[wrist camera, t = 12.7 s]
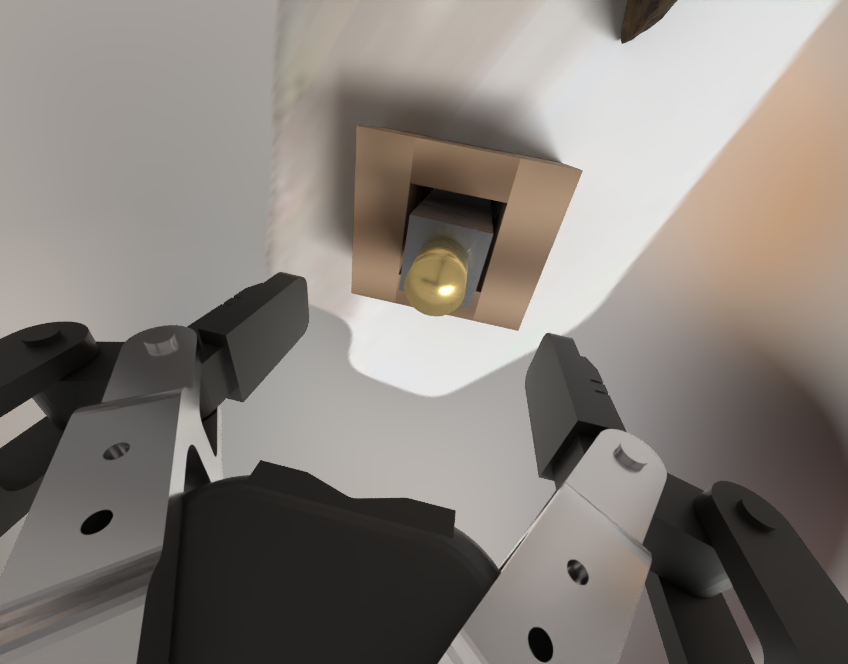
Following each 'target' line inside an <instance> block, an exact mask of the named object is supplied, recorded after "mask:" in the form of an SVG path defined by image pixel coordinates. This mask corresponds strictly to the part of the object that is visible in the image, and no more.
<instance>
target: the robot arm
mask: <svg viewBox="0 0 848 664" xmlns="http://www.w3.org/2000/svg"><path fill="white" fill-rule="evenodd" d="M308 323H309V309H308V293H307V283H306V280H305V278H304V277H301V276H296V275H292V274H287V273H283V272H279V273H277V274H276V275H274V276H273V277H271V278H270V279H268V280H267V281H266V282H264V283H260V284H257V285H254V286H251V287H248V288H245V289H244V290H242V291H241V292H239V293H238V294H236V295H235V296H234V298H231V299H229V300H227V301H226V302H224V304H223V305H222V304H221V305H220V306H218V307H216V308H215V309H213V310H212V311H210V312H209V313H207V314H206V315H204V316H203V317H201V318H200V319H198V320H197V321H195V322H194V323H192V324H191V325H189V326H188V327H184V326H178V325H168V326H160V327H155V328H151V329H147V330H145V331H142V332H139V333H137V334H135V335H134V336H132V337H130V338H129V339H128V340H127V341H126V342H95V340H94V338H93V336H92V335H91V333H90V331H89V330H88V328H87V327H86V326H85V325H83V324H81V323H77V322H52V323H45V324H40V325H36V326H32V327H28V328H25V329H22V330H19V331H17V332H15V333H12V334H10V335H8V336H6V337H3V338H1V339H0V417H2V416H3V415H5V414H7V413H8V412H10V411H11V410H13V409H14V408H16V407H18V406H19V405H21V404H22V403H24V402H26V401H27V400H29V399H30V398H33V399H34V400H35V402H36V403H37V404H38V406H39V407H40V408H41V409H42V410H43V412H44V413H45V414H46V415H47V416H46V417H45V418H43V419H42V420H40V421H39V422H37V423H36V424H34V425H33V426H32V427H30V428H29V429H27V430H26V431H24V432H23V433H22V434H20V435H19V436H17V437H16V438H14V439H13V440H11V441H10V442H9V443H7V444H6V445H4V446H3V447H1V448H0V537H1V536H2V535H3V534H4V533H5V532H7V531H8V530H9V529H10V528H11V527H12V526H13V525H14V524H16V523H17V522H18V521H19V520H20V519H21V518H22V517H24V516H25V515H26V514H27V513H28V512H29V513H28V515H27V517H26V520H25V522H24V524H23V526H22V529H21V531H20V533H19V536H18V538H17V540H16V542H15V545H14V547H13V549H12V551H11V554H10V556H9V558H8V560H7V563H6V565H5V567H4V570H3V572H2V574H1V576H0V664H618V662H619V659H620V656H621V653H622V650H623V647H624V644H625V641H626V638H627V635H628V632H629V629H630V626H631V623H632V620H633V617H634V614H635V611H636V608H637V605H638V602H639V599H640V596H641V593H642V590H643V587H644V584H645V586H646V588H647V592H648V595H649V599H650V602H651V605H652V608H653V612H654V615H655V618H656V621H657V625H658V628H659V632H660V635H661V638H662V641H663V645H664V648H665V651H666V654H667V658H668V661H669V664H755V663H754V661H753V659H752V657H751V655H750V652H749V650H748V648H747V646H746V644H745V642H744V640H743V637H742V635H741V633H740V631H739V629H738V627H737V625H736V622H735V620H734V618H733V616H732V614H731V612H730V610H729V607H728V605H727V603H726V601H725V599H724V597H723V595H722V592H723V591H725V590H727V589H729V588H732V587H733V588H734V590H735V591H736V594H737V596H738V598H739V600H740V602H741V604H742V606H743V608H744V610H745V612H746V614H747V616H748V618H749V620H750V622H751V624H752V626H753V628H754V630H755V632H756V634H757V636H758V638H759V640H760V643H761V645H762V648H763V653H764V664H848V603H847V602H846V600H845V599H844V597H843V596H842V595H841V594H840V592H839V591H838V589H837V588H836V586H835V585H834V584H833V582H832V581H831V579H830V578H829V577H828V575H827V574H826V573H825V571H824V570H823V568H822V567H821V566H820V564H819V563H818V562H817V560H816V559H815V557H814V556H813V555H812V553H811V552H810V551H809V549H808V548H807V546H806V545H805V544H804V542H803V541H802V539H801V538H800V537H799V535H798V534H797V533H796V531H795V530H794V528H793V527H792V526H791V525H790V523H789V522H788V521H787V520H786V519H785V518H784V516H783V515H782V514H781V513H780V512H779V511H777V510H776V509H775V508H774V507H773V506H772V505H771V504H769V503H768V502H767V501H766V500H764V499H763V498H761V497H760V496H759V495H757V494H755V493H754V492H752V491H750V490H748V489H747V488H745V487H743V486H740V485H738V484H735V483H732V482H728V481H719V482H716V483H714V484H713V485H712V486H710V487H709V488H708V489H706V490H705V491H703V490H701V489H699V488H697V487H695V486H693V485H691V484H689V483H687V482H685V481H683V480H681V479H679V478H677V477H675V476H673V475H671V474H669V473H667V472H666V469H665V466H664V464H663V462H662V461H661V459H660V458H659V456H658V455H657V454H656V453H655V452H654V451H653V450H652V449H651V448H650V447H649V446H648V445H647V444H645V443H644V442H643V441H641V440H640V439H639V438H637V437H635V436H633V435H631V434H629V433H627V432H626V430H625V428H624V426H623V423H622V421H621V419H620V417H619V415H618V413H617V411H616V408H615V407H614V404H613V402H612V400H611V398H610V396H609V395H608V392H607V389H606V387H605V385H603V381H602V378H601V376H600V374H599V372H598V370H597V369H596V368H595V367H594V366H593V365H592V363H591V362H590V361H589V360H588V359H587V358H586V357H582V356H580V354H579V352H578V350H577V347H576V345H575V342H574V340H573V339H572V338H568V337H564V336H560V335H555V334H551V333H547V334H545V336H544V337H543V339H542V341H541V343H540V345H539V347H538V349H537V351H536V354H535V356H534V358H533V360H532V362H531V364H530V366H529V369H528V371H527V374H526V379H525V389H526V396H527V403H528V409H529V416H530V421H531V429H532V434H533V442H534V448H535V455H536V461H537V467H538V474H539V477H541V478H544V479H549V480H553V481H555V485H556V491H555V492H554V493H553V495H552V496H551V497H550V499H549V500H548V501H547V503H546V504H545V505H544V507H543V508H542V510H541V511H540V512H539V514H538V515H537V517H536V518H535V519H534V521H533V522H532V523H531V525H530V526H529V527H528V529H527V530H526V532H525V533H524V534H523V536H522V537H521V538H520V540H519V541H518V543H517V544H516V545H515V547H514V548H513V549H512V551H511V552H510V553H509V555H508V556H507V557H506V559H505V560H504V561H503V563H502V564H501V565H500V567H499V568H497V566H496V565H495V563H494V562H493V561H492V559H491V558H490V557H489V556H488V555H487V554H486V552H485V551H484V550H483V549H482V548H481V547H480V546H479V545H478V544H477V543H476V542H475V541H474V540H472V539H471V538H470V537H469V536H467V535H466V534H465V533H463V532H462V531H460V530H459V529H457V528H455V527H454V523H455V510H451V509H448V508H444V507H440V506H436V505H432V504H428V503H425V502H421V501H417V500H413V499H409V498H362V499H357V498H351V497H348V496H346V495H344V494H343V493H341V492H339V491H338V490H336V489H334V488H333V487H331V486H329V485H328V484H326V483H324V482H323V481H321V480H319V479H318V478H316V477H314V476H313V475H311V474H309V473H308V472H304V471H300V470H296V469H293V468H288V467H285V466H281V465H277V464H273V463H269V462H265V461H262V460H260V462H259V463H258V465H257V466H256V468H255V469H254V471H253V472H252V474H251V475H247V476H238V477H231V478H226V479H224V478H223V472H222V423H221V422H222V420H221V419H222V416H221V414H222V413H221V408H220V404H221V403H222V402H223V401H224V400H225V398H228V399H232V400H236V401H240V402H244V401H245V400H246V399H247V398H248V396H249V395H250V394H251V393H252V392H253V391H254V390H255V388H256V387H257V386H258V385H259V384H260V383H261V382H262V381H263V380H264V378H265V377H266V376H267V375H268V374H269V373H270V372H271V371H272V370H273V368H274V367H275V366H276V365H277V364H278V363H279V362H280V361H281V359H282V358H283V357H284V356H285V355H286V354H287V353H288V351H289V350H290V349H291V348H292V347H293V346H294V345H295V344H296V343H297V341H298V340H299V339H300V338H301V337H302V336H303V335H304V333H305V331H306V329H307V327H308Z"/></svg>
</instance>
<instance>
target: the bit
mask: <svg viewBox="0 0 848 664" xmlns="http://www.w3.org/2000/svg"><path fill="white" fill-rule="evenodd" d="M492 237H493V225H492V214H491V204H490V200H488V199H484V198H480V197H475V196H470V195H466V194H461V193H456V192H451V191H446V190H441V189H436V188H434V189H433V190H432V191H431V192H430V193H429V195H428V196H427V197H426V198H425V199H424V200H423V201H422V202H421V203H420V204H419V205H418V206H417V207H416V209H415V210H414V211H413V212H412V213H411V214H410V217H409V224H408V230H407V237H406V244H405V250H404V257H403V263H402V270H401V277H400V283H399V290H400V291H404V292H405V295H406V297H407V299H408V301H409V303H410V304H411V305H412V306H413V307H414V308H415V309H416V310H418V311H419V312H421V313H423V314H426V315H430V316H443V315H447V314H449V313H451V312H453V311H454V310H456V309H457V308H458V307H459V306H460V305H461V306H465V307H469V308H471V305H472V301H473V298H474V295H475V292H476V288H477V285H478V282H479V279H480V276H481V272H482V269H483V266H484V263H485V259H486V256H487V253H488V250H489V247H490V243H491V240H492Z"/></svg>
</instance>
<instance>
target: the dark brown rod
mask: <svg viewBox="0 0 848 664" xmlns="http://www.w3.org/2000/svg"><path fill="white" fill-rule="evenodd" d="M676 1H677V0H628V2H627V7H626V13H625V18H624V23H623V27H622V33H621V42H622V44H623V43H626V42H628V41H630V40H632V39H634V38H635V37H636V36H638V35H639V34H640V33H642V32H644V31H646V30H648V29H649V28H650V27H652V26H653V25H654V24H656V23H657V22H658V21H659V20H661V19H662V18H663V17H664V15H665V14H666V13H667V12H668V11H669V9H670V8H671V7H672V6H673V5H674V4H675V2H676Z"/></svg>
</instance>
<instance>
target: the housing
mask: <svg viewBox="0 0 848 664" xmlns="http://www.w3.org/2000/svg"><path fill="white" fill-rule="evenodd" d="M581 174H582V170H580V169H577V168H574V167H571V166H569V165H566V164H563V163H559V162H554V161H549V160H544V159H539V158H533V157H528V156H523V155H518V154H513V153H508V152H503V151H498V150H493V149H488V148H483V147H478V146H473V145H468V144H463V143H457V142H452V141H447V140H442V139H437V138H432V137H427V136H422V135H417V134H412V133H407V132H402V131H397V130H392V129H387V128H380V127H366V126H357V129H356V161H355V194H354V226H353V258H352V291H351V293H353V294H358V295H362V296H366V297H371V298H375V299H380V300H384V301H389V302H393V303H397V304H402V305H406V306H411V307H413V306H412V305H411V304H410V303H409V301H408V299H407V297H406V295H405V292H404V291H400V290H399V283H400V277H401V270H402V263H403V257H404V250H405V244H406V237H407V230H408V224H409V217H410V214H411V213H412V212H413V211H414V210H415V209H416V207H417V206H418V205H419V204H420V199H421V192H422V186H427V187H432V188H436V189H441V190H446V191H451V192H456V193H461V194H466V195H470V196H475V197H480V198H485V199H490V200H495V201H500V202H499V206H498V209H497V213H496V216H495V220H494V223H493V237H492V240H491V243H490V247H489V250H488V253H487V256H486V259H485V263H484V266H483V269H482V272H481V276H480V279H479V282H478V285H477V288H476V292H475V295H474V298H473V301H472V305H471V308H469V307H465V306H461V305H460V306H459V307H458V308H457V309H456V310H454V311H453V312H451V313H449V314H447V315H451V316H455V317H460V318H464V319H468V320H473V321H477V322H482V323H486V324H491V325H495V326H500V327H504V328H508V329H513V330H517V331H518V330H519V327H520V325H521V322H522V320H523V317H524V315H525V312H526V310H527V307H528V305H529V302H530V300H531V298H532V295H533V293H534V290H535V288H536V285H537V283H538V280H539V278H540V275H541V273H542V270H543V268H544V265H545V263H546V260H547V258H548V255H549V253H550V250H551V248H552V246H553V243H554V241H555V238H556V236H557V233H558V231H559V228H560V226H561V223H562V221H563V218H564V216H565V213H566V211H567V208H568V206H569V203H570V201H571V198H572V196H573V194H574V191H575V189H576V186H577V184H578V181H579V179H580V176H581Z"/></svg>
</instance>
